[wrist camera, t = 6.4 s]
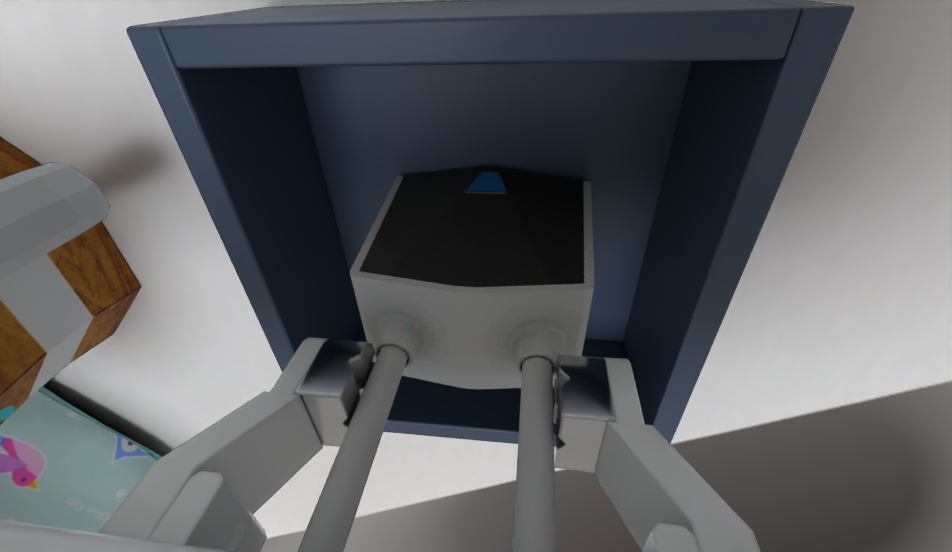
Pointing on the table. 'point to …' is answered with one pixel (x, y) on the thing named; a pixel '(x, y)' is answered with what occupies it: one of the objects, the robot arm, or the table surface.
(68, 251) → the mug
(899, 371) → the table surface
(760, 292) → the table surface
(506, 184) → the padlock
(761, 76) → the basket
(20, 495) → the lunch box
